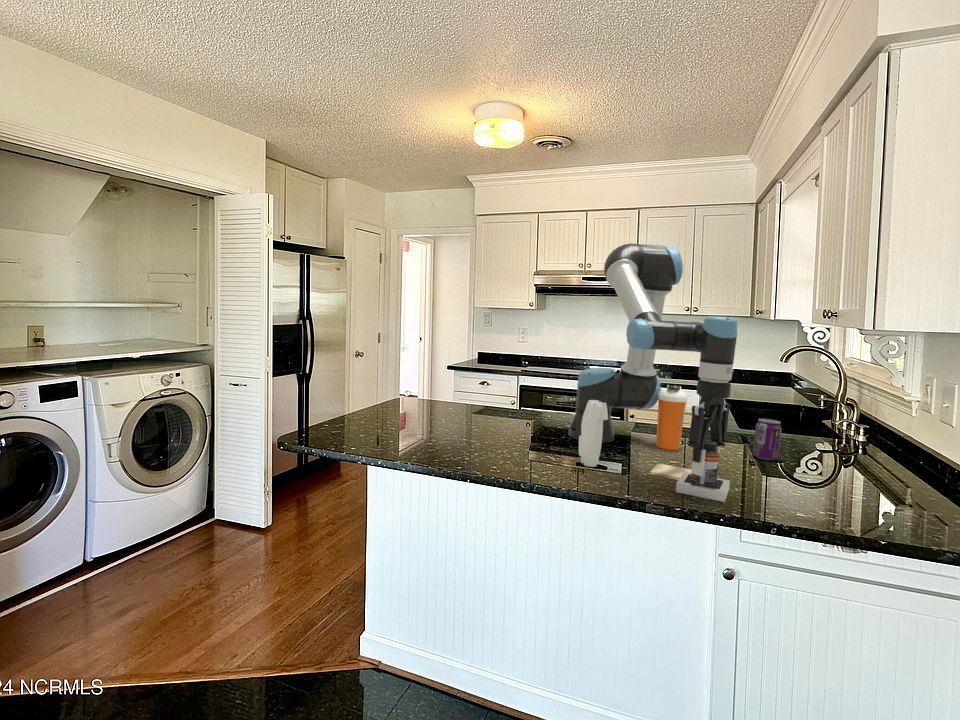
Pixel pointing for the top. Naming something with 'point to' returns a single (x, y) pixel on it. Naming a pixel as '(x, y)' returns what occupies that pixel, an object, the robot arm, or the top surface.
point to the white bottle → (592, 432)
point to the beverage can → (767, 439)
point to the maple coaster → (668, 471)
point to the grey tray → (703, 488)
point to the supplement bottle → (708, 467)
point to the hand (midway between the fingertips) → (704, 472)
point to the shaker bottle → (670, 417)
